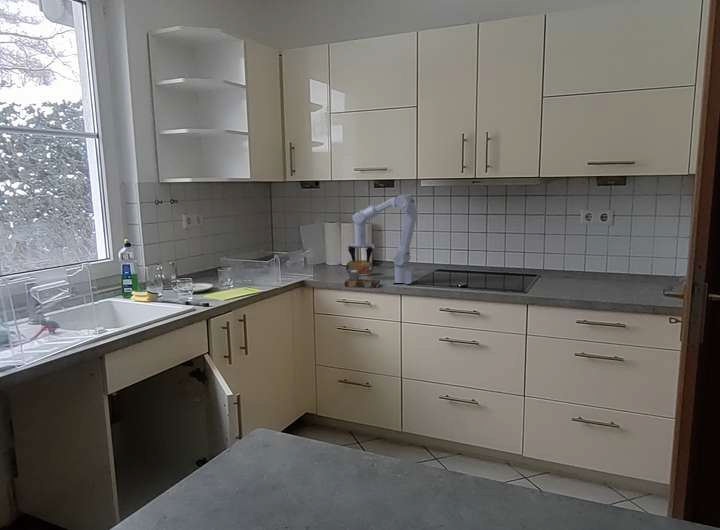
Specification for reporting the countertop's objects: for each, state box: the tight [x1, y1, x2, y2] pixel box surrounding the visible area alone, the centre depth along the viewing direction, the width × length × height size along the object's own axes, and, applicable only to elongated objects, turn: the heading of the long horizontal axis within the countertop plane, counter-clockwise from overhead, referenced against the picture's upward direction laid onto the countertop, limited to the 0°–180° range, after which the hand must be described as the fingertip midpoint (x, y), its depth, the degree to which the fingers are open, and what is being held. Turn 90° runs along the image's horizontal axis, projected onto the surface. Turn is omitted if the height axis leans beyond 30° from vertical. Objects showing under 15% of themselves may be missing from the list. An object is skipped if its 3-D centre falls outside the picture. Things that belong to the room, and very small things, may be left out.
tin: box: [345, 259, 374, 276], centre depth 284 cm, size 15×3×8 cm, turn 76°
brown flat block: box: [344, 278, 380, 289], centre depth 257 cm, size 16×7×3 cm, turn 73°
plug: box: [349, 270, 360, 282], centre depth 258 cm, size 4×4×8 cm
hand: (360, 261), depth 268 cm, fingers open, 7 cm apart
